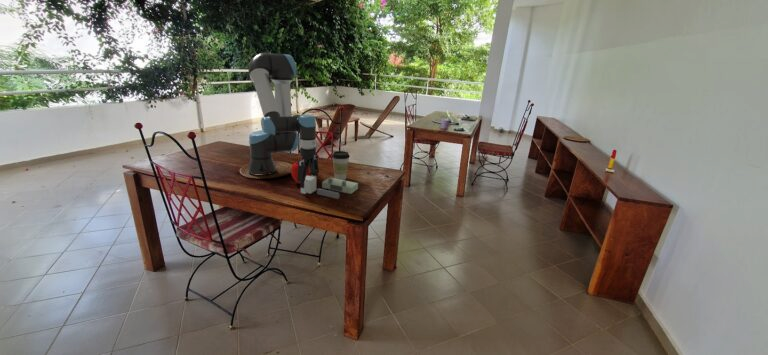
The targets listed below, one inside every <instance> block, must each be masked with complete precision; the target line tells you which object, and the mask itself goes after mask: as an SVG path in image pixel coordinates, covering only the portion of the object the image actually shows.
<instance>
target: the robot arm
mask: <svg viewBox="0 0 768 355" xmlns="http://www.w3.org/2000/svg"><path fill="white" fill-rule="evenodd" d="M248 76H249V78H250V80H251V81H252V82H253V86H254V88H255V91H256V94H257V98H258V101H259V105H260V108H261V112H262V114H263V117H262V118H261V120H260V125H261V126H260V127H261V130H257V131H254V132H253V131H252V132H251V133H250V134H249V135H248V136H249V137H248V138H249V140H248V144H249V154H250V161H249V165H248V168H247V171H249V172H248V174H249V173H252V174H269V173H273V172H275V171H276V172H277V167H276V164H275V162H274V159H273V154H277V153H290V152H295V151H296V150H297V149H298V147H299V153H300V154H299V155H300V156H301V160H297V161H298V175H297V181H300V185H299V186H300V194H303V195H307V193H306V181H305V178H306V174H307V169H308V168H309V170H310V173H311V175H310V176H312V177H316V178H317V177H318V176H319V173H320V169H319V160H318V159H319V156H318V155H317V148H316V146H317V143H316V142H317V140H316V139H317V136H316V133H317V132H316V131H317V130H316V129H317V128H316V126H317V122H316V121H317V120H316V117H315V115H313V114H294V115H292V99H291V97H292V95H291V93H292V92H291V83H292V82H293V81H294V77H296V76H297V64H296V61H295V59H294V57H293V56H292V55H291V54H286V53H269V52H261V53H260V52H259V53H258V54H256V55H254V56H253V57H252V58H251V60H250V62H249V65H248ZM269 78H270V79H269ZM270 80H271V82H272V83H273V84H274V86H273V88H274V89H273V88H272V85H271V82H270ZM273 90H274V92H273ZM298 132H299V133H298ZM304 165H305V166H304ZM306 166H307V167H306ZM276 172H275V173H276ZM273 174H274V173H273Z"/></svg>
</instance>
